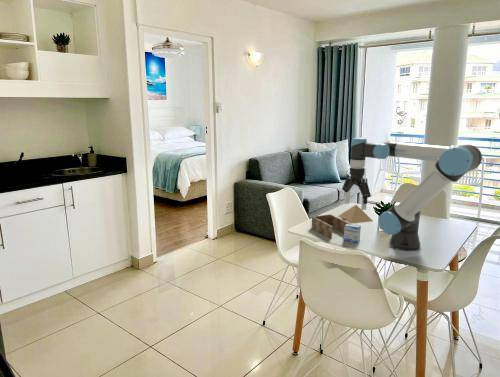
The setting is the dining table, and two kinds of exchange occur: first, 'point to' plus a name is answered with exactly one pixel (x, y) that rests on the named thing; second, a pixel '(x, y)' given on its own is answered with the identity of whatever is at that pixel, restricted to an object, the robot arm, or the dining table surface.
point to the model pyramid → (355, 215)
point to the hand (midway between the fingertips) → (354, 206)
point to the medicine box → (352, 233)
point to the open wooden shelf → (328, 224)
